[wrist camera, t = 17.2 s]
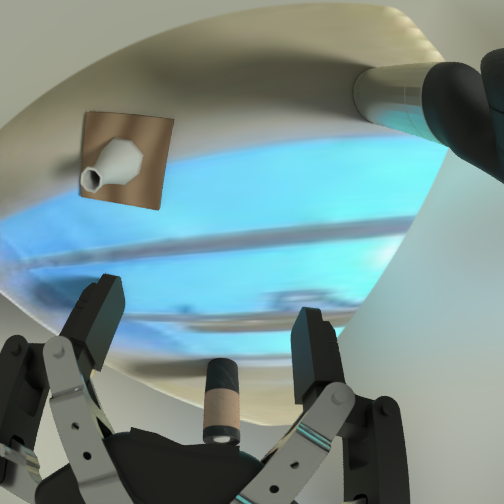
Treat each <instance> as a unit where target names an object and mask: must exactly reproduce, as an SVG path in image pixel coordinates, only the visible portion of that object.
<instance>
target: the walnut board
mask: <svg viewBox="0 0 504 504" xmlns="http://www.w3.org/2000/svg"><path fill="white" fill-rule="evenodd" d="M173 123H174V119H168V118H160V117H152V116H144V115H134V114H123V113H110V112H92V111H89V112H87V115H86V123H85V132H84V142H83V156H82V172H83V171H84V170H85V169H86V168H87V167H88V166H90V167H93V166H94V165H95V164H96V162H97V160H98V158H99V156H100V154H101V151H102V149H103V148H104V147H105V146H106V145H107V144H108V143H109V142H110V141H111V140H112V139H113V138H114V137H118V138H123V139H127V140H132V141H133V142H134V144H135V145H136V146H137V147H138V149H139V150H140V151H141V152H142V154H143V155H144V156H143V160H142V165H141V169H140V173H139V174H138V175H137V176H136V177H135V178H134V179H133V180H132V181H130V182H129V183H128V184H127V185H121V184H105V185H102V187H101V188H100V189H99V190H98V191H97V192H96V193H91V192H88V191H86V190H85V189H84V188H83V187H82V185H81V197H84V198H90V199H96V200H102V201H108V202H114V203H120V204H125V205H131V206H136V207H142V208H147V209H153V210H158V211H159V209H160V204H161V196H162V189H163V182H164V175H165V168H166V162H167V156H168V150H169V144H170V139H171V133H172V128H173Z"/></svg>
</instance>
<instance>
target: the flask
mask: <svg viewBox="0 0 504 504" xmlns="http://www.w3.org/2000/svg"><path fill="white" fill-rule="evenodd" d="M143 156H144V155H143V154H142V152H141V151H140V150H139V149H138V147H137V146H136V145H135V144H134V142H133V141H132V140H127V139H123V138H118V137H114V138H113V139H112V140H111V141H110V142H109V143H108V144H107V145H106V146H105V147H104V148H103V149H102V151H101V154H100V156H99V158H98V160H97V162H96V164H95V165H94V166H93V167H90V166H88V167H87V168H86V169H85V170H84V171H83V172H82V173H81V178H80V184H81V185H82V187H83V188H84V189H85V190H86V191H88V192H91V193H96V192H97V191H98V190H99V189H100V188H101V187H102V185H105V184H121V185H127V184H128V183H129V182H130V181H132V180H133V179H134V178H135V177H136V176H137V175H138V174H139V173H140V169H141V165H142V160H143Z"/></svg>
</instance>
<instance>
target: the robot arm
mask: <svg viewBox="0 0 504 504" xmlns="http://www.w3.org/2000/svg"><path fill="white" fill-rule="evenodd" d="M480 69H481V74H480V73H479V72H478V71H476V70H475V69H474V68H472V67H470V66H469V65H466V64H463V63H459V62H432V63H417V64H405V65H395V66H387V67H379V68H373V69H368V70H366V71H364V72H363V73H361V74H360V75H359V76H358V78H357V79H356V81H355V84H354V88H353V97H354V102H355V104H356V107H357V109H358V110H359V112H360V113H361V115H362V116H363V117H364V118H365V119H367V120H368V121H370V122H372V123H374V124H378V125H382V126H385V127H389V128H392V129H396V130H399V131H402V132H406V133H409V134H412V135H415V136H418V137H421V138H424V139H427V140H430V141H433V142H436V143H439V144H442V145H444V146H447V147H450V149H451V150H452V151H453V152H454V153H455V154H456V155H457V156H458V157H460V158H461V159H463V160H465V161H467V162H468V163H470V164H472V165H474V166H476V167H478V168H479V169H481V170H483V171H484V172H486V173H488V174H489V175H491V176H492V177H494V178H496V179H497V180H499V181H500V182H502V183H503V184H504V48H501V49H497V50H493V51H491V52H489V53H487V54H486V55H485V56H484V57H483V58H482V60H481V68H480ZM124 309H125V297H124V292H123V287H122V281H121V278H120V277H119V276H115V275H110V274H103V275H102V276H101V278H100V280H99V282H98V283H97V284H96V283H92V284H90V285H89V286H88V287H87V288H86V289H84V291H83V292H82V294H81V296H80V298H79V301H77V303H76V305H75V308H73V310H72V312H71V314H70V316H69V317H68V319H67V321H66V323H65V325H64V327H63V329H62V331H61V333H60V334H59V336H55V337H53V338H51V339H49V340H48V341H47V342H46V343H44V344H40V343H39V344H38V343H28V342H27V341H26V339H25V338H24V337H23V336H20V335H14V336H11V337H10V338H8V339H7V341H6V342H5V344H4V346H3V348H2V350H1V353H0V486H1V487H3V488H5V489H7V490H8V491H10V492H11V493H13V494H14V495H16V496H18V497H20V498H21V499H23V500H25V501H27V502H28V503H30V504H298V503H297V502H296V501H295V500H294V499H295V497H296V496H297V495H298V493H299V492H300V491H301V490H302V489H303V487H304V486H305V485H306V484H307V482H308V481H309V480H310V478H311V477H312V476H313V474H314V473H315V472H316V470H317V469H318V468H319V466H320V465H321V463H322V462H323V460H324V459H325V457H326V456H327V455H328V453H329V451H330V449H331V445H330V444H331V442H332V440H333V439H334V437H335V436H340V437H342V440H343V468H344V502H343V503H341V504H410V490H409V476H408V465H407V455H406V447H405V439H404V433H403V426H402V420H401V414H400V408H399V406H398V404H397V402H396V401H395V400H394V399H393V398H391V397H388V396H381V397H379V398H377V399H376V400H371V399H368V398H364V397H361V396H358V395H356V394H354V392H353V390H352V389H351V388H350V387H349V386H348V385H346V383H345V379H344V373H343V368H342V363H341V357H340V352H339V347H338V343H337V337H336V332H335V330H334V328H333V327H332V325H331V324H330V322H329V321H323V319H322V314H321V310H320V309H319V308H310V307H302V309H301V311H300V313H299V315H298V317H297V319H296V321H295V324H294V326H293V328H292V332H291V351H292V365H293V380H294V396H295V404H303V412H302V413H301V414H300V416H299V417H298V418H297V419H296V421H295V422H294V423H293V425H292V426H291V427H290V428H289V429H288V431H287V432H286V433H285V434H284V436H283V437H282V438H281V439H280V440H279V441H278V443H277V444H276V445H275V446H274V447H273V448H272V449H271V450H270V451H269V452H268V453H267V454H266V455H265V456H264V458H263V459H262V460H261V461H259V460H258V459H256V458H255V457H253V456H251V455H250V454H247V453H245V452H243V451H240V450H239V447H240V446H236V445H225V444H216V443H208V444H197V445H181V444H179V443H177V442H174V441H172V440H170V439H168V438H166V437H163V436H161V435H159V434H157V433H153V432H149V431H144V430H141V429H137V428H133V427H131V430H130V432H121V433H116V434H115V433H114V430H113V428H112V426H111V424H110V422H109V420H108V419H107V417H106V415H105V413H104V411H103V409H102V406H101V404H100V402H99V399H98V396H97V393H96V391H95V388H94V385H93V383H92V379H91V377H90V375H91V373H92V370H97V371H101V369H102V366H103V363H104V360H105V358H106V355H107V352H108V350H109V347H110V345H111V342H112V339H113V337H114V334H115V332H116V329H117V327H118V325H119V322H120V320H121V317H122V315H123V312H124ZM49 389H51V393H52V398H50V400H49V403H50V407H51V411H52V414H53V418H54V421H55V424H56V427H57V430H58V433H59V436H60V439H61V442H62V445H63V447H64V450H65V452H66V455H67V458H68V460H69V462H70V463H68V464H67V465H65V466H64V467H62V468H61V469H59V470H57V471H56V472H54V473H53V474H51V475H50V476H48V477H47V478H45V479H43V480H42V478H41V477H40V474H39V469H40V465H39V463H38V459H37V456H36V455H35V453H34V452H33V451H34V446H35V441H36V437H37V432H38V428H39V424H40V420H41V417H42V413H43V409H44V406H45V402H46V399H47V396H48V392H49Z"/></svg>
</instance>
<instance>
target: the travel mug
mask: <svg viewBox="0 0 504 504" xmlns="http://www.w3.org/2000/svg"><path fill="white" fill-rule="evenodd" d="M203 422H204V423H203V441H204V443H206V444H208V443H216V444H225V445H237V444H239V443H240V404H239V382H238V367H237V364H236V363H235V362H234V361H232V360H230V359H226V358H217V359H214V360H212V361H210V362H209V364H208V369H207V378H206V387H205V399H204V421H203Z"/></svg>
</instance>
